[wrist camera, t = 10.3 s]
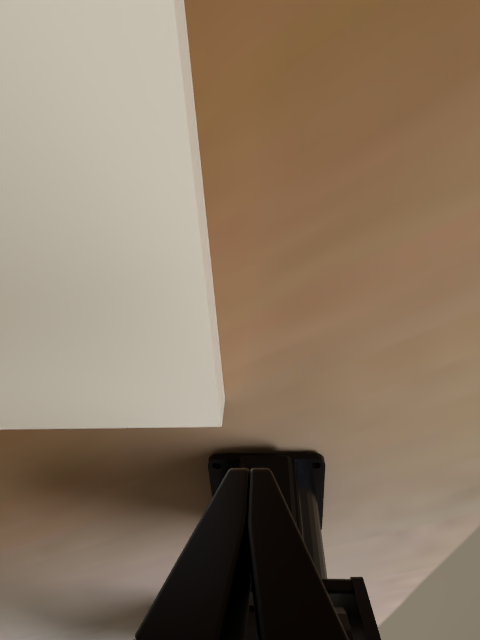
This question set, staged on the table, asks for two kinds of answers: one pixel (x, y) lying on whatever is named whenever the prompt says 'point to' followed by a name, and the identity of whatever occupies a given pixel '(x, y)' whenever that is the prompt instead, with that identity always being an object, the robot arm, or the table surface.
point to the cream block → (103, 221)
